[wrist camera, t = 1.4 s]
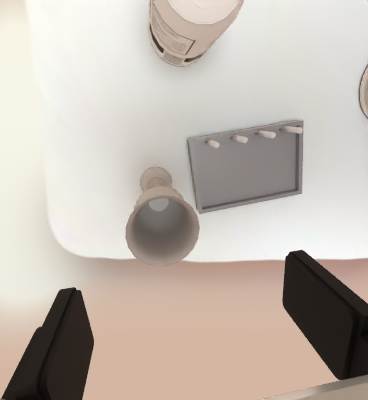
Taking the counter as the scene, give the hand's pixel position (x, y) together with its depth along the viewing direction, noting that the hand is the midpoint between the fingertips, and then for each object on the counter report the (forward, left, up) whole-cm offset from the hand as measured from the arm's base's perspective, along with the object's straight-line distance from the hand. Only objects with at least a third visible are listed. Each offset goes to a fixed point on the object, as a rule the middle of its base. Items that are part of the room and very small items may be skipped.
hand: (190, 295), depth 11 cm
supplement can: (-6, -18, -30) cm, 35 cm away
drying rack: (-14, +2, -30) cm, 33 cm away
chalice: (+1, +2, -30) cm, 30 cm away
